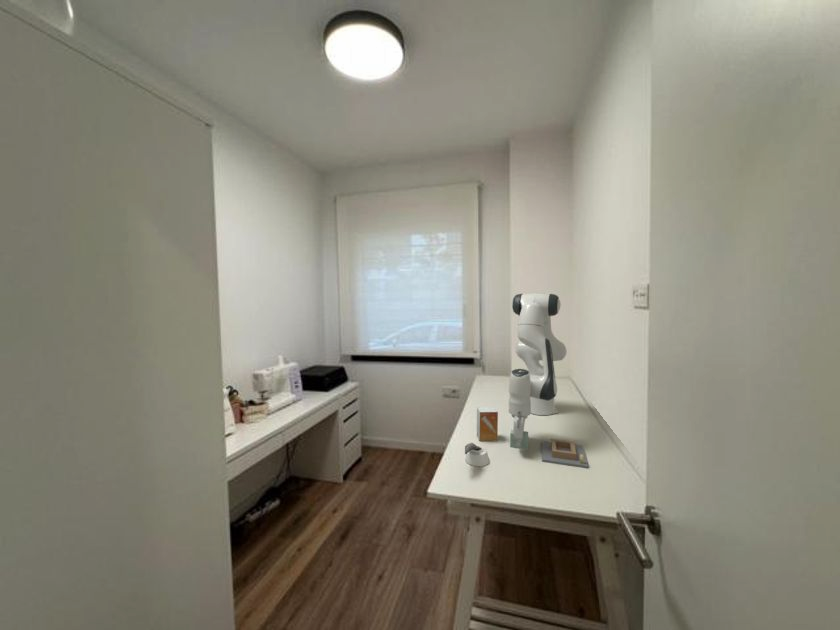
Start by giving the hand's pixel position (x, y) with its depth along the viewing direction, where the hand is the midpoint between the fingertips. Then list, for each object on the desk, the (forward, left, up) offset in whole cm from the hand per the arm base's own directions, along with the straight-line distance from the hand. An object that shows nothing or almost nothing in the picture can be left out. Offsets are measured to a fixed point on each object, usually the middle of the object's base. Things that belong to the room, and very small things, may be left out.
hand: (519, 441), depth 144 cm
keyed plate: (+2, +17, -2) cm, 17 cm away
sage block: (0, 0, -2) cm, 2 cm away
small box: (-4, -14, -2) cm, 15 cm away
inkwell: (+22, -15, -2) cm, 27 cm away
